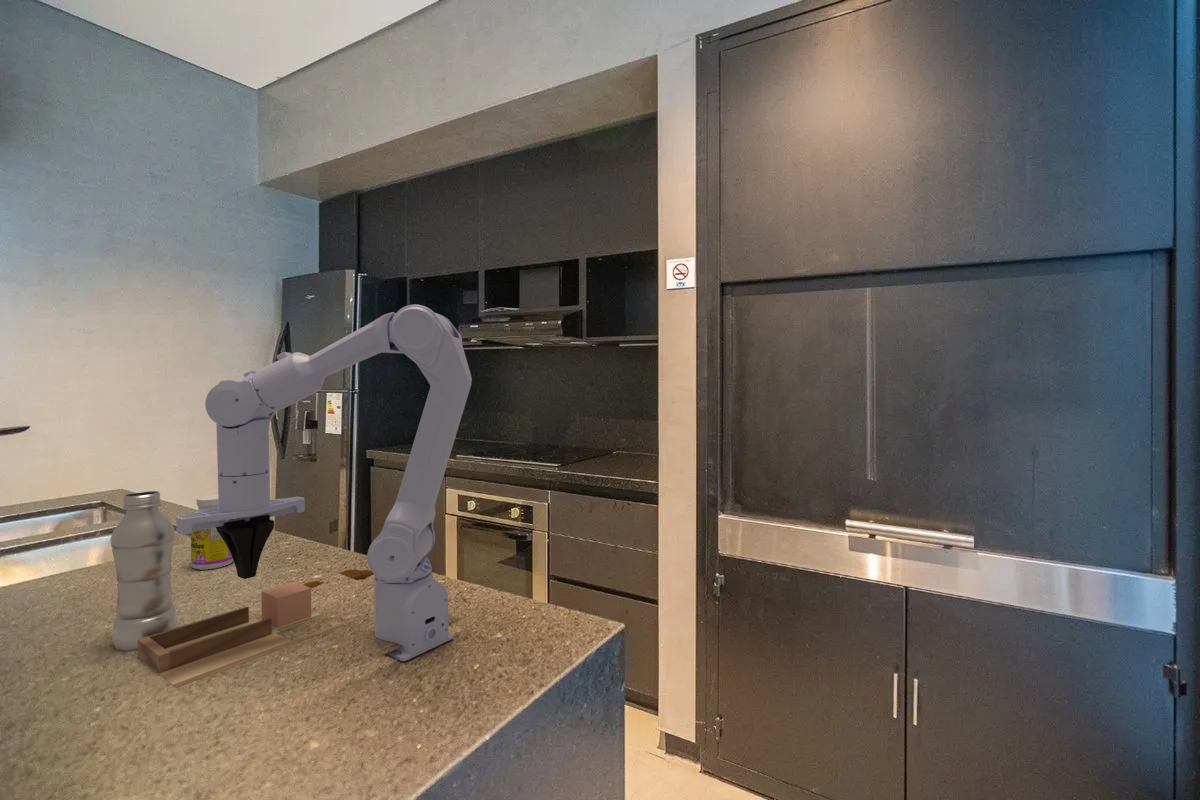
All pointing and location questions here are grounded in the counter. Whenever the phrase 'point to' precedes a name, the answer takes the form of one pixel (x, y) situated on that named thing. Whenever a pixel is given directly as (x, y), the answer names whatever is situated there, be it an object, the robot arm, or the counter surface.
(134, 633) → the plastic bottle
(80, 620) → the counter surface
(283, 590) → the block
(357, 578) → the primitive tool
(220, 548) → the supplement bottle
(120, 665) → the counter surface
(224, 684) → the counter surface
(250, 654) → the board
